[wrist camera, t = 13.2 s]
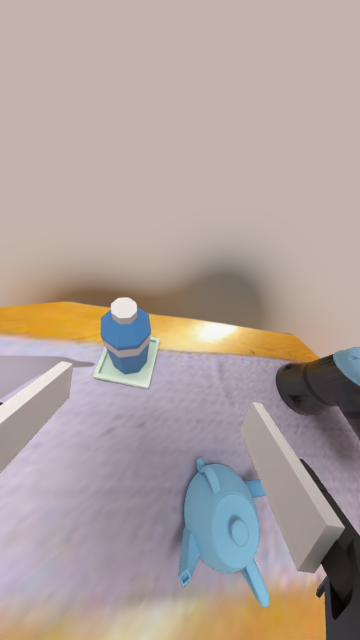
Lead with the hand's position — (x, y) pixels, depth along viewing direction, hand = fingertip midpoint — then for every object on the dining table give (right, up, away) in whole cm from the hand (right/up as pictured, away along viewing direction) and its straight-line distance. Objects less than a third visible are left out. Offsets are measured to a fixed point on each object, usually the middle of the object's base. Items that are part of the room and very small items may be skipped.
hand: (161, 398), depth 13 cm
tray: (-13, -5, +36) cm, 39 cm away
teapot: (+9, -34, +25) cm, 43 cm away
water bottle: (-13, -5, +36) cm, 38 cm away
